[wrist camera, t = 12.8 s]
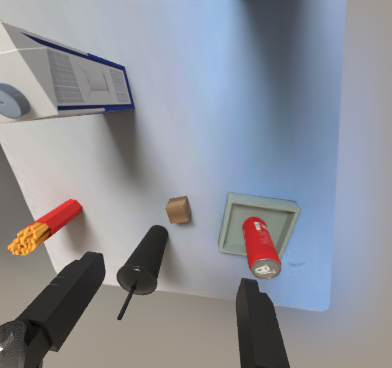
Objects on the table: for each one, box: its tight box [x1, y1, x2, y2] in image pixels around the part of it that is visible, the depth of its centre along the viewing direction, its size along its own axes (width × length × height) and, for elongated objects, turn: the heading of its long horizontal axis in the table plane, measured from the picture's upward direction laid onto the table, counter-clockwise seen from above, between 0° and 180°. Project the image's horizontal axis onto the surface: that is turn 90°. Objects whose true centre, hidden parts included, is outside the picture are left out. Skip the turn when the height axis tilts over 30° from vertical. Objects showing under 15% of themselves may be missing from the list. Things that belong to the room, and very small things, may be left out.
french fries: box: [8, 199, 82, 255], centre depth 40 cm, size 9×4×13 cm, turn 122°
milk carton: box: [0, 20, 135, 124], centre depth 24 cm, size 7×7×20 cm
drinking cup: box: [117, 225, 168, 320], centre depth 37 cm, size 8×8×20 cm
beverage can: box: [242, 217, 281, 280], centre depth 35 cm, size 5×5×12 cm
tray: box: [218, 192, 301, 260], centre depth 40 cm, size 14×14×3 cm
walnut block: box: [165, 196, 191, 224], centre depth 40 cm, size 4×4×4 cm
